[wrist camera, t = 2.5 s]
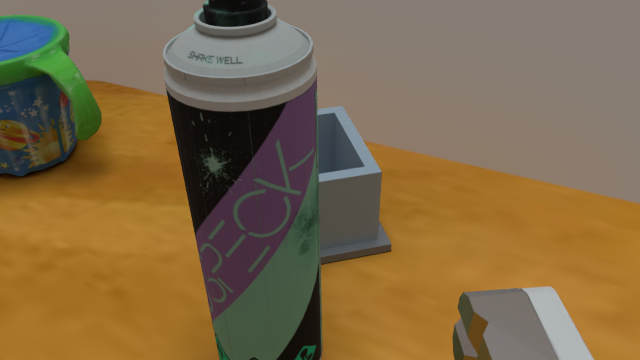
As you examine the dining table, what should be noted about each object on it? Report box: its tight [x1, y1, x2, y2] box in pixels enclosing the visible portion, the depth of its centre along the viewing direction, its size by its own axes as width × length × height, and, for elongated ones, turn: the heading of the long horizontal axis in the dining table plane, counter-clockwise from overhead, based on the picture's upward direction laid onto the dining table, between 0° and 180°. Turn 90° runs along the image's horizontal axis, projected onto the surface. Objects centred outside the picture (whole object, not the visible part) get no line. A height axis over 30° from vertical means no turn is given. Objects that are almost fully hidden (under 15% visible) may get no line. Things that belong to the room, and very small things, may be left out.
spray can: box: [163, 0, 322, 360], centre depth 24 cm, size 6×6×20 cm
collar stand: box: [317, 106, 391, 264], centre depth 37 cm, size 10×10×6 cm
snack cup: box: [0, 15, 102, 176], centre depth 43 cm, size 16×10×10 cm
